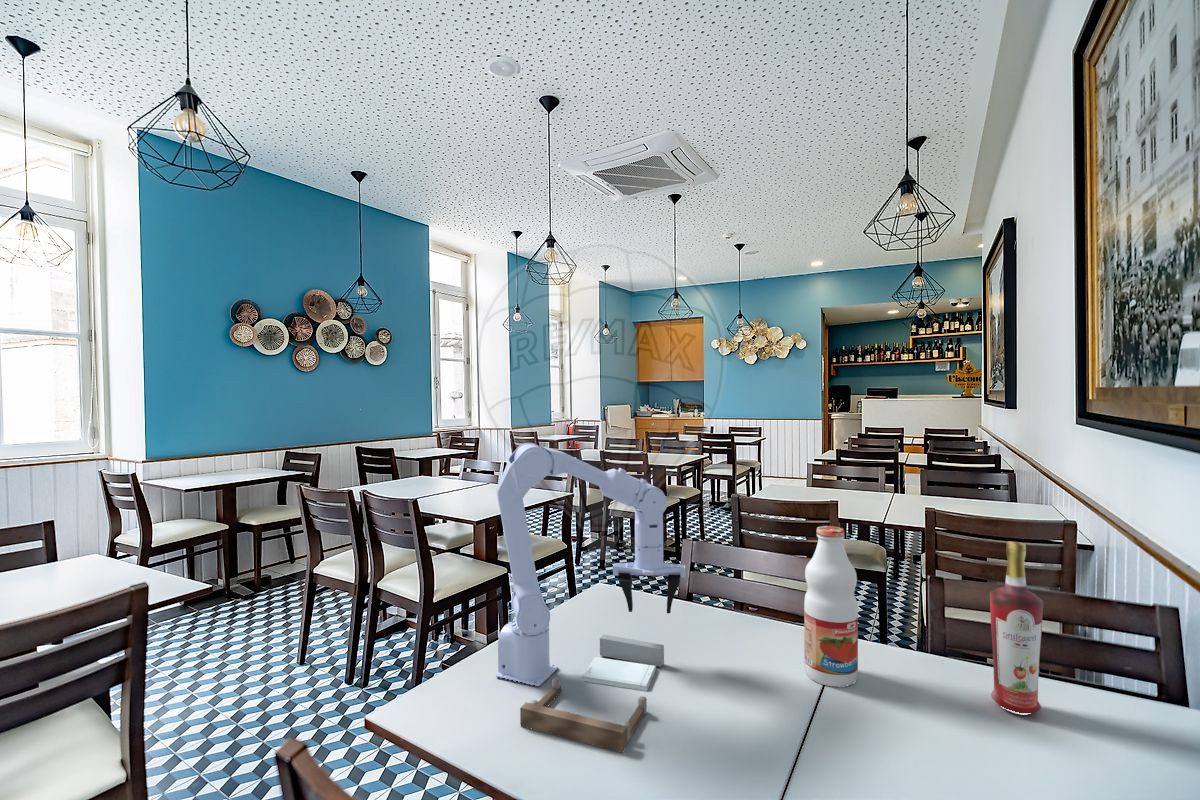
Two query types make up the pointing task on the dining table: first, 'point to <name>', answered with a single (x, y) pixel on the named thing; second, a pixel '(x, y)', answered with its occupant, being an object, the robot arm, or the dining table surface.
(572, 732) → the dock
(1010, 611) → the liquor
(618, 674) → the hard drive
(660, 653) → the grey rectangular beam
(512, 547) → the robot arm
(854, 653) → the fruit juice
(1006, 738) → the dining table surface
